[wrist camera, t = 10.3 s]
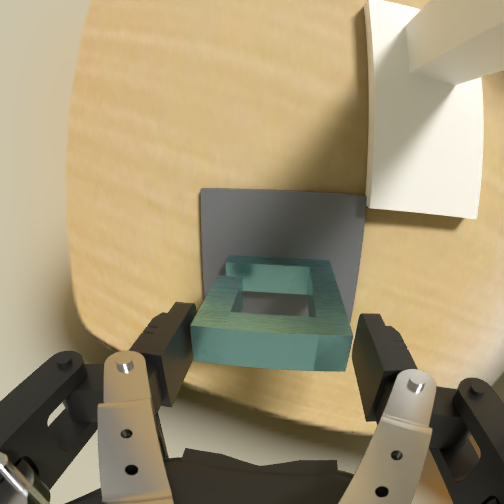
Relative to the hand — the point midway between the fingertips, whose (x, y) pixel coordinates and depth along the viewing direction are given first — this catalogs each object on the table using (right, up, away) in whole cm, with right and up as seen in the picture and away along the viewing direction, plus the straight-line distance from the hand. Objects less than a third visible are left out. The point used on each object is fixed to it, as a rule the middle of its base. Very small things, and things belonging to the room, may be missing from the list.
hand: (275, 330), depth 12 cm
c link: (+1, +2, +6) cm, 6 cm away
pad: (+1, +2, +6) cm, 7 cm away
